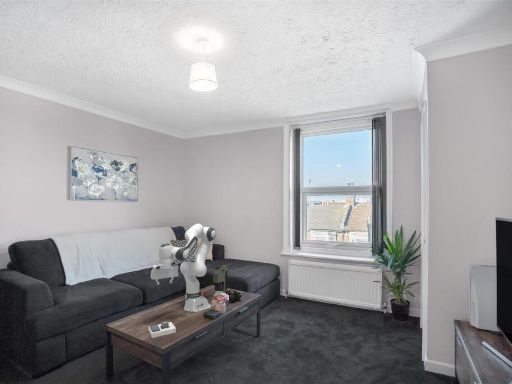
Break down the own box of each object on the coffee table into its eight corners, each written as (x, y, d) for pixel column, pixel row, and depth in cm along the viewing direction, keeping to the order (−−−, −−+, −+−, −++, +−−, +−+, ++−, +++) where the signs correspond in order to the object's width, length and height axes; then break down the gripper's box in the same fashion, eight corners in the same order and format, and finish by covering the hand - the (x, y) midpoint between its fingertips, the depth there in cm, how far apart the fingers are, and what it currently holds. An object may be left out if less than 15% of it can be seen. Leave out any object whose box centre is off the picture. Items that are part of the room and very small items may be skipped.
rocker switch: (166, 329, 208) (167, 320, 208) (168, 331, 204) (168, 322, 204) (161, 330, 205) (161, 322, 206) (162, 332, 202) (162, 324, 202)
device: (218, 298, 275) (218, 266, 276) (212, 296, 279) (212, 265, 280) (227, 294, 286) (228, 263, 287) (222, 292, 291) (222, 262, 291)
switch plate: (171, 326, 213) (171, 320, 213) (175, 332, 203) (175, 326, 203) (148, 331, 205) (148, 325, 205) (151, 338, 194) (152, 332, 194)
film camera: (220, 303, 261) (221, 292, 261) (223, 298, 273) (224, 288, 273) (240, 304, 259) (240, 293, 259) (242, 299, 271) (242, 289, 271)
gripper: (177, 263, 228) (177, 280, 228) (150, 266, 218) (149, 284, 217) (179, 264, 223) (179, 282, 223) (152, 267, 212) (151, 286, 212)
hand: (164, 283), depth 220 cm, fingers open, 8 cm apart
